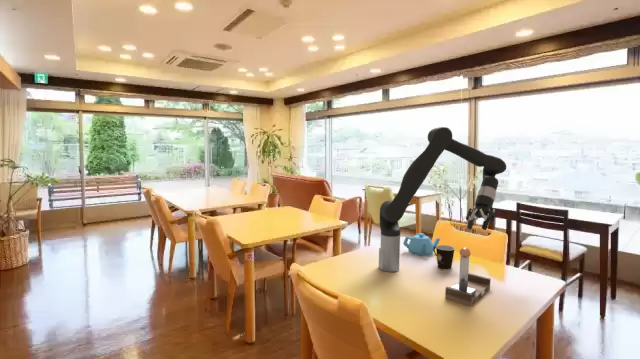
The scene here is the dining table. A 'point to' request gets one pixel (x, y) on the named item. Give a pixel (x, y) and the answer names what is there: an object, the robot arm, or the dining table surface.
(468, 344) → the dining table surface
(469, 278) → the base
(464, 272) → the handle
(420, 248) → the teapot
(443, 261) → the coffee mug
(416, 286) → the dining table surface
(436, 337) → the dining table surface
